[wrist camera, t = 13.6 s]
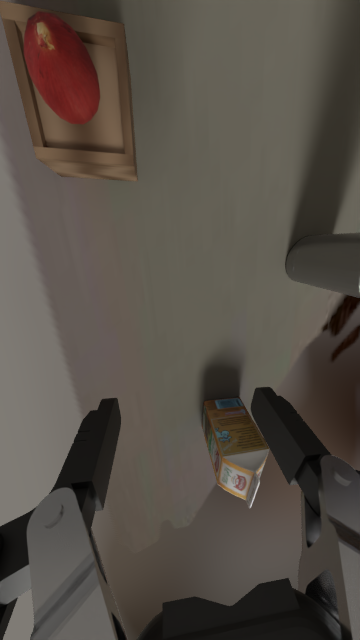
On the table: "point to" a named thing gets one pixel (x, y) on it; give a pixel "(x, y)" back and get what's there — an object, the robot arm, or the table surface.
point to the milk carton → (234, 446)
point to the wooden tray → (113, 111)
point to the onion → (61, 68)
